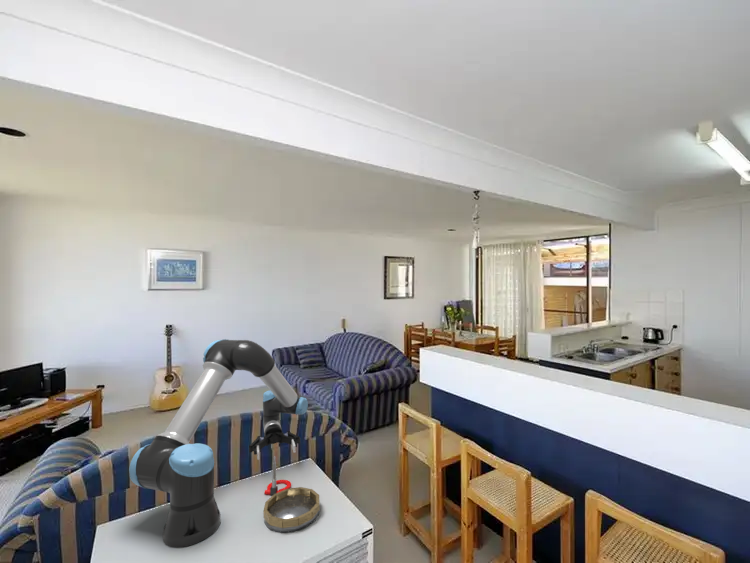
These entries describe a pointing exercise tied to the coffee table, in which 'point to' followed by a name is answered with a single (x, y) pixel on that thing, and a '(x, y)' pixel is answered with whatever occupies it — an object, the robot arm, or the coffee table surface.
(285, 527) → the wooden rimmed bowl
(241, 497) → the coffee table surface
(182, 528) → the robot arm
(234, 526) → the coffee table surface
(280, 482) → the tow hook
